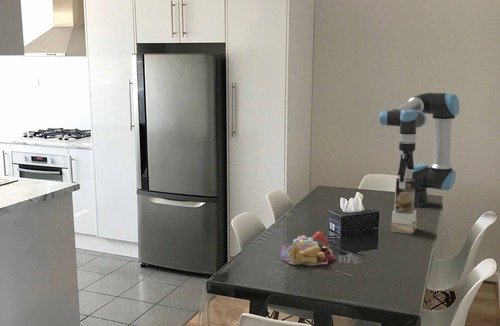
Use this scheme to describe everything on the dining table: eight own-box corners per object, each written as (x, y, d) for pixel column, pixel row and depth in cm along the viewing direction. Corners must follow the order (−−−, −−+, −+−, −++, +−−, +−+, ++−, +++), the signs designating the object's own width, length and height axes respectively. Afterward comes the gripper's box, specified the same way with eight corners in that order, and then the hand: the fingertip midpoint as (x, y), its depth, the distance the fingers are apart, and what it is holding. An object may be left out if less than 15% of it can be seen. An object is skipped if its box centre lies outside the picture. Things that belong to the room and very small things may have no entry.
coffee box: (394, 212, 258) (395, 180, 255) (394, 209, 265) (395, 177, 261) (414, 213, 256) (415, 181, 253) (413, 210, 262) (414, 178, 259)
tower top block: (398, 217, 268) (398, 207, 267) (415, 220, 263) (416, 210, 262) (391, 221, 261) (392, 212, 260) (409, 224, 256) (410, 214, 255)
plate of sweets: (340, 266, 218) (341, 245, 217) (284, 269, 217) (284, 247, 215) (327, 245, 243) (327, 226, 241) (276, 247, 241) (276, 228, 239)
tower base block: (396, 226, 270) (396, 216, 269) (416, 229, 265) (416, 219, 264) (390, 231, 261) (391, 222, 260) (411, 235, 256) (411, 225, 255)
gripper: (406, 138, 266) (404, 179, 270) (392, 145, 245) (390, 190, 249) (421, 139, 262) (419, 180, 267) (408, 146, 241) (406, 191, 245)
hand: (405, 185), depth 258 cm, fingers open, 13 cm apart
